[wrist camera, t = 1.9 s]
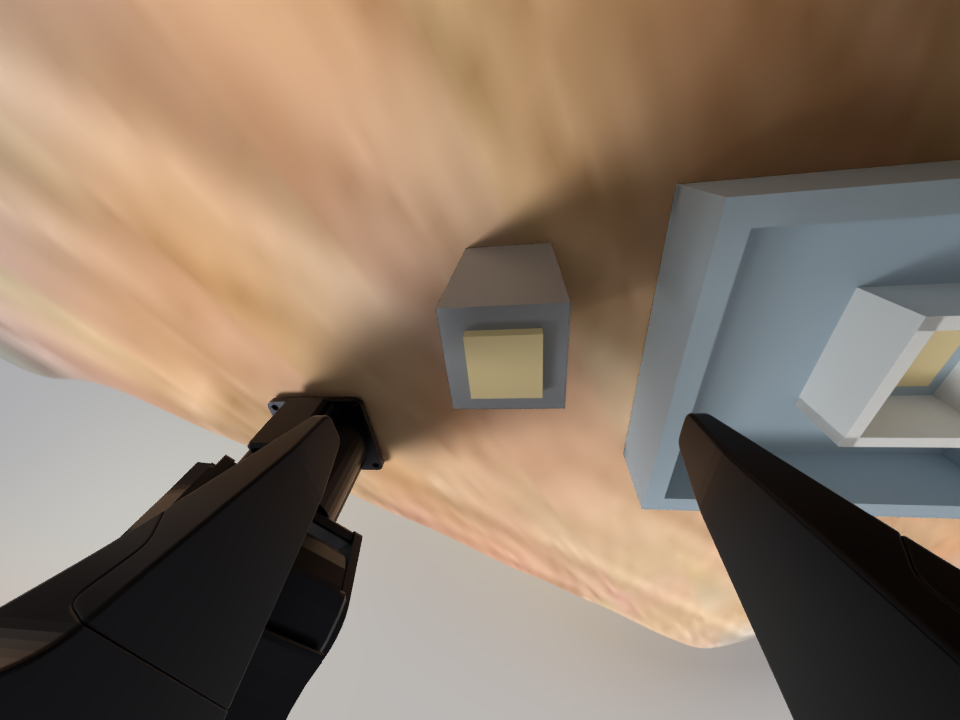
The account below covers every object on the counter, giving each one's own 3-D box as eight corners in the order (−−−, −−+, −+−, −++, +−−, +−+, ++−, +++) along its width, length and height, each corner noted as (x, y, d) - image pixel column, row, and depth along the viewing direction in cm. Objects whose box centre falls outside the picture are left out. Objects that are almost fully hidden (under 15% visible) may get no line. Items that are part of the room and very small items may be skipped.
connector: (549, 320, 18) (565, 415, 12) (474, 323, 18) (451, 416, 12) (551, 242, 16) (572, 307, 9) (465, 248, 16) (433, 314, 10)
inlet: (938, 404, 17) (1009, 447, 15) (794, 405, 18) (838, 446, 16) (1041, 278, 14) (1156, 308, 11) (856, 287, 15) (926, 316, 12)
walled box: (940, 457, 20) (1024, 520, 17) (623, 454, 22) (641, 509, 19) (1237, 135, 12) (1532, 132, 8) (676, 184, 14) (726, 197, 10)
